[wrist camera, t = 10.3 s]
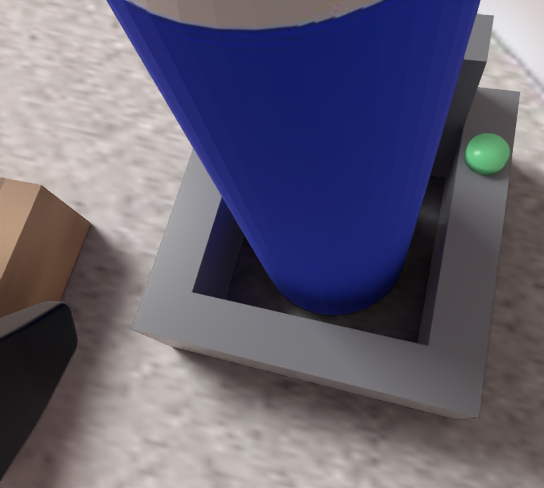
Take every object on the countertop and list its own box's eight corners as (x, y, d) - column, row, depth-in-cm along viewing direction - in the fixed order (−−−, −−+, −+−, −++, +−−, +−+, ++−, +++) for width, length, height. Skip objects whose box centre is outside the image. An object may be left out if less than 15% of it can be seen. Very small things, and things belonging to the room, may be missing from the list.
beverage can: (434, 239, 18) (681, -363, 4) (344, 349, 17) (296, 41, 4) (324, 164, 20) (248, -438, 6) (238, 260, 19) (-77, -179, 5)
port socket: (454, 419, 16) (512, 413, 10) (171, 346, 18) (81, 307, 12) (492, 149, 19) (554, 20, 13) (243, 115, 21) (199, -8, 15)
